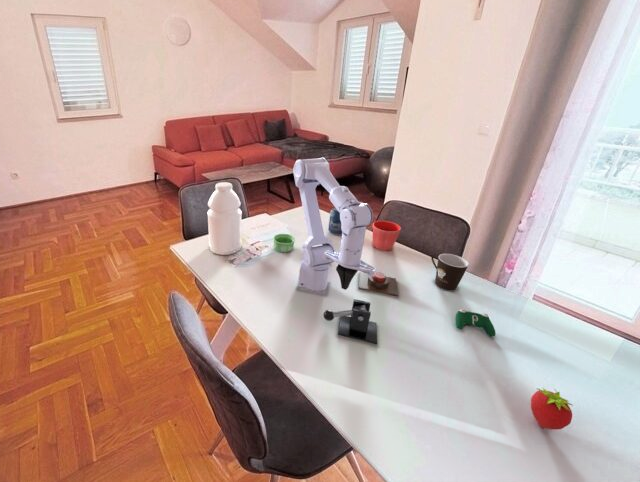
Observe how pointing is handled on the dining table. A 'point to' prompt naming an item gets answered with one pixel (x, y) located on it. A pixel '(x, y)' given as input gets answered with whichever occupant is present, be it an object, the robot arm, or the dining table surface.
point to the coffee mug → (449, 271)
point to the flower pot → (385, 234)
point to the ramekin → (283, 242)
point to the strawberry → (550, 410)
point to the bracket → (359, 324)
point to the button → (379, 277)
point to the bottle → (224, 220)
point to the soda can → (335, 222)
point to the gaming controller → (474, 321)
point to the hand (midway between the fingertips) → (345, 287)
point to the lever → (341, 313)
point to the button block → (378, 284)
